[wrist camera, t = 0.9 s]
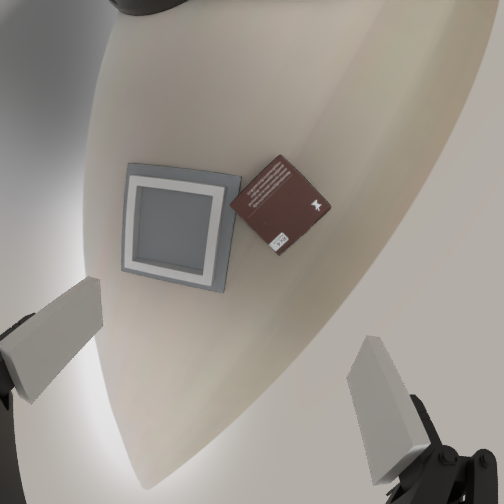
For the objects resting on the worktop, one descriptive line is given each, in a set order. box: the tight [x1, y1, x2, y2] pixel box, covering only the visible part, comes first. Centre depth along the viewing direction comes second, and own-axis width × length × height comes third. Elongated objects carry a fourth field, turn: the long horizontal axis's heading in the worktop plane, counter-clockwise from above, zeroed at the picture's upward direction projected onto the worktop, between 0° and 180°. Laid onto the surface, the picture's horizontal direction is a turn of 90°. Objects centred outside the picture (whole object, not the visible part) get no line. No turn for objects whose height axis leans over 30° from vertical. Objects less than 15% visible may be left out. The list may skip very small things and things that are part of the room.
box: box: [229, 155, 331, 256], centre depth 26 cm, size 6×6×7 cm
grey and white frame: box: [122, 163, 242, 293], centre depth 30 cm, size 13×13×2 cm
